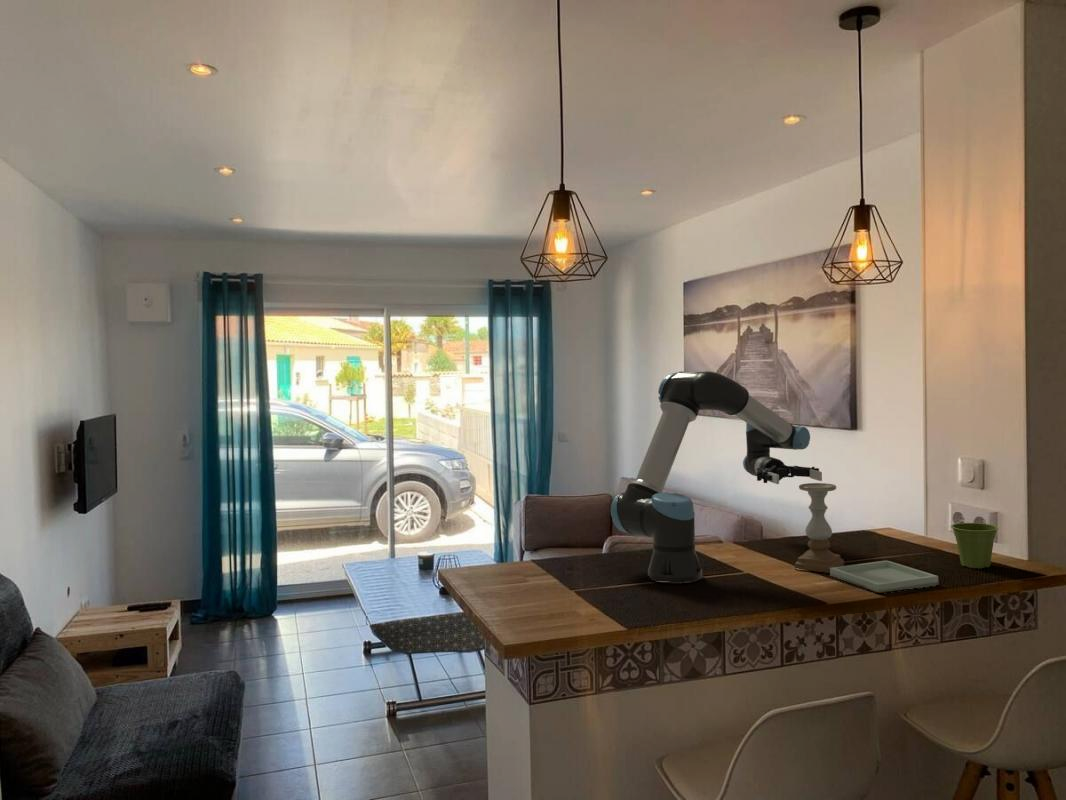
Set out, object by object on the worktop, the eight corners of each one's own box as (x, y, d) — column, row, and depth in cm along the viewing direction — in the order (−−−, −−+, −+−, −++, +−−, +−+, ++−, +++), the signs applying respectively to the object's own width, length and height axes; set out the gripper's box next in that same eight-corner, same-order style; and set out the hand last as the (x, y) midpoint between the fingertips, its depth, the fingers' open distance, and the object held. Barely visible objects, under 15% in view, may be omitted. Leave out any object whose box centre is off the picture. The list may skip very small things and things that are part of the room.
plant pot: (987, 560, 240) (986, 521, 240) (1006, 570, 228) (1006, 530, 228) (944, 561, 241) (944, 522, 241) (961, 571, 229) (961, 531, 229)
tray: (877, 594, 211) (877, 584, 211) (830, 576, 229) (829, 567, 229) (938, 585, 217) (938, 576, 217) (887, 569, 235) (887, 560, 235)
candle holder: (832, 574, 232) (830, 489, 231) (794, 569, 239) (791, 487, 237) (844, 565, 241) (842, 483, 239) (807, 561, 247) (805, 481, 246)
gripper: (807, 477, 273) (838, 487, 252) (734, 482, 270) (760, 493, 249) (806, 455, 273) (838, 462, 252) (733, 460, 270) (759, 468, 249)
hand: (799, 478), depth 251 cm, fingers open, 13 cm apart
